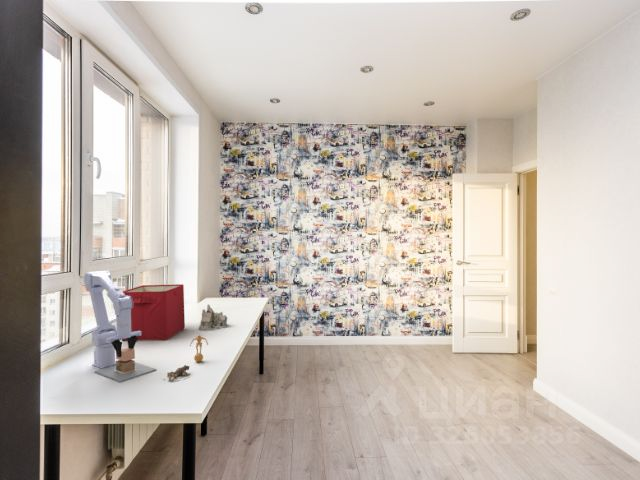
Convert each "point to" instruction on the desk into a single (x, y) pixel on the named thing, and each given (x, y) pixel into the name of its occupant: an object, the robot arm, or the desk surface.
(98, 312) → the robot arm
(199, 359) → the figurine
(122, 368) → the walnut block
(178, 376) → the frog figurine
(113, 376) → the board
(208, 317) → the stone castle ruin
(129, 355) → the terracotta block
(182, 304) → the storage cube
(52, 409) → the desk surface
